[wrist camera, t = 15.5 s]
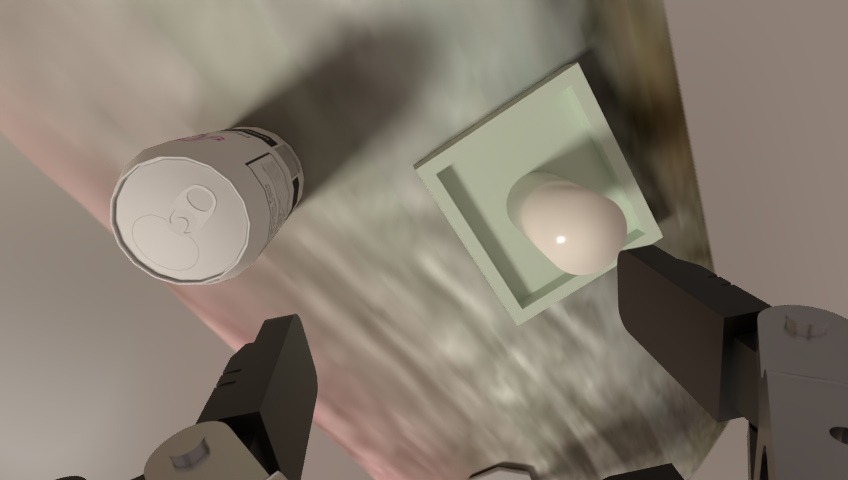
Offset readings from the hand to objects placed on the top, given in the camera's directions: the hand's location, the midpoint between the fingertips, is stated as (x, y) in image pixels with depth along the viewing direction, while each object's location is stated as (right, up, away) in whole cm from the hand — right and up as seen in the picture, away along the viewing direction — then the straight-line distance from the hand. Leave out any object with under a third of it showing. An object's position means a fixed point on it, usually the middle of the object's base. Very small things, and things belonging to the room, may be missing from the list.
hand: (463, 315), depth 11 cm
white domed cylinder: (+9, +5, +29) cm, 31 cm away
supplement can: (-15, +7, +27) cm, 32 cm away
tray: (+9, +5, +30) cm, 32 cm away
